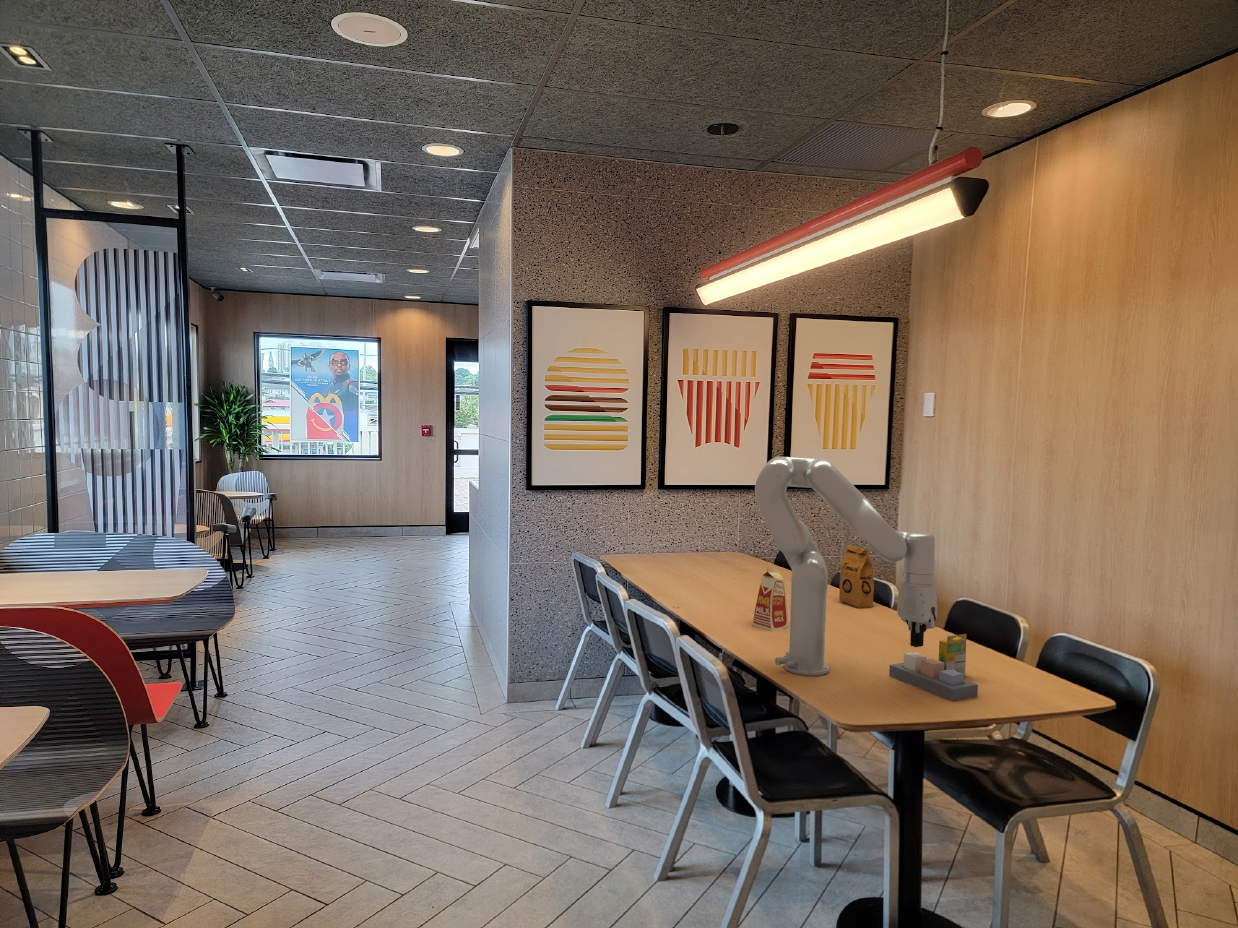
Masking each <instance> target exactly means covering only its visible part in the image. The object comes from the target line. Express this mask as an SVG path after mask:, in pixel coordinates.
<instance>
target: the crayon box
mask: <svg viewBox="0 0 1238 928" xmlns="http://www.w3.org/2000/svg"><path fill="white" fill-rule="evenodd" d="M967 635H968V634H967V633H963V634H955V635H948V636H947V638H946V639H943V640H938V643H939V644H938V660H939V661H941V662H944V670H949V669H951V670H954V671H957V672H959V673H962V674H963V677H964V676H966V666H967V665H966V663H967V662H966V661H967V658H966V657H967Z"/></svg>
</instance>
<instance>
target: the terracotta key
mask: <svg viewBox="0 0 1238 928" xmlns="http://www.w3.org/2000/svg"><path fill="white" fill-rule="evenodd" d="M939 671H944V662H941V661H939V659H935V658H932V657H931V658H926V659H925V660H921V674H923V675H925V676H928V677H930V678H938V677H939Z"/></svg>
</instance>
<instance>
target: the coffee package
mask: <svg viewBox="0 0 1238 928" xmlns="http://www.w3.org/2000/svg"><path fill="white" fill-rule="evenodd" d="M845 549H846V552H845V554H844V557H843V558H842V561H841V563H840V565H839V568H840V569H839V571H840V573H839V587H838V588H839V598H838V599H839V600H838V601H840V602H843V603H845V604H848V605H850V606H853V607H855V608H858V609H861V608H862V609H866V608H873V607H874V591H875V581H874V580H875V579H874V571H873V570H874V569H873V566H872V561H871V559H870V558H871V557H870V555H869V552H868V550H867V548H862V547H858V546H853V545H849V544H847V546H845Z"/></svg>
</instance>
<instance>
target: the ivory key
mask: <svg viewBox="0 0 1238 928" xmlns="http://www.w3.org/2000/svg"><path fill="white" fill-rule="evenodd" d="M925 659H927V655H923V654H921V653H919V652H916V651H914V652H913V651H912V652H906V653H903V663H904V664H903V667H904V668H907V669H909V670H912V671H915V672H916V671H921V660H925Z"/></svg>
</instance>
